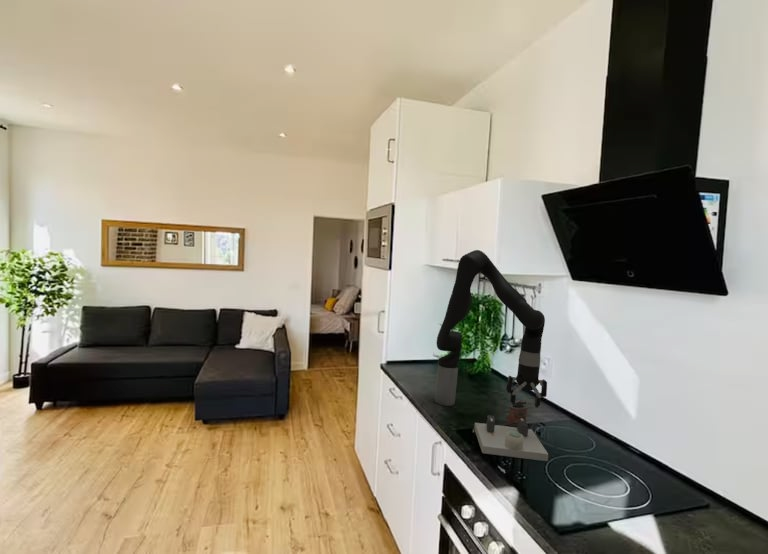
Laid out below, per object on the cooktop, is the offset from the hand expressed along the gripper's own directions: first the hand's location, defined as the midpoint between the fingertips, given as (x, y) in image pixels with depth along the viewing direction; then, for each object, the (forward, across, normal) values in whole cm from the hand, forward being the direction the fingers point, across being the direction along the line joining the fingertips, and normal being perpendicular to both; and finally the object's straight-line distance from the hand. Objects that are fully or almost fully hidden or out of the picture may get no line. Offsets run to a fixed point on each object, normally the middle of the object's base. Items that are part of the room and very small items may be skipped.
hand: (524, 405), depth 151 cm
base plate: (+13, -6, -5) cm, 15 cm away
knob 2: (+11, 0, 0) cm, 11 cm away
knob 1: (+11, -12, 0) cm, 16 cm away
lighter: (+14, +2, +16) cm, 21 cm away
